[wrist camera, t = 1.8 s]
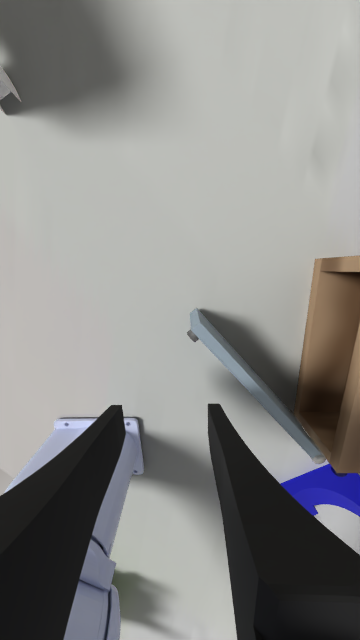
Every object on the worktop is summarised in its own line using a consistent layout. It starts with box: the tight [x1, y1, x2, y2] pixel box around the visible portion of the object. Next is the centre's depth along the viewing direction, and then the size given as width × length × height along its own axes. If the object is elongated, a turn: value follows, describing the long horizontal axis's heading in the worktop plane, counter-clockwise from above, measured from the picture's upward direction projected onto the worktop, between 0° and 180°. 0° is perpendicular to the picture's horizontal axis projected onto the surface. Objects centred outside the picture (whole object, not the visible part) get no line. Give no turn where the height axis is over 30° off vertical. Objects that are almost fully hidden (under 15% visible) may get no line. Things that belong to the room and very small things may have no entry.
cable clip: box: [280, 464, 360, 517], centre depth 20 cm, size 12×4×6 cm, turn 124°
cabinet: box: [294, 256, 360, 473], centre depth 15 cm, size 5×16×6 cm, turn 3°
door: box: [187, 308, 326, 464], centre depth 16 cm, size 2×16×5 cm, turn 42°
